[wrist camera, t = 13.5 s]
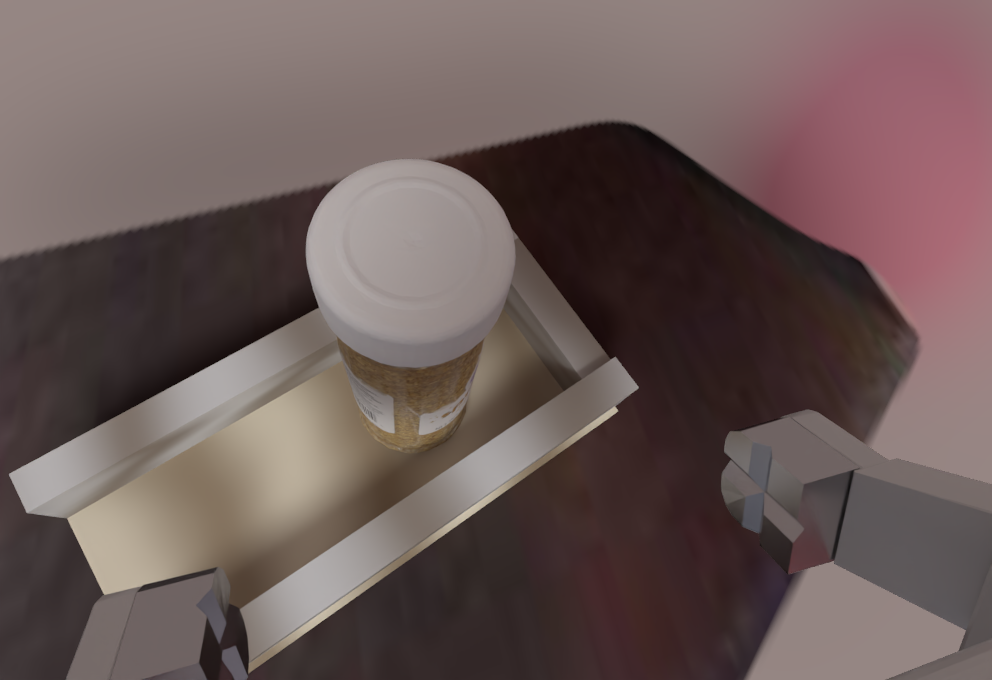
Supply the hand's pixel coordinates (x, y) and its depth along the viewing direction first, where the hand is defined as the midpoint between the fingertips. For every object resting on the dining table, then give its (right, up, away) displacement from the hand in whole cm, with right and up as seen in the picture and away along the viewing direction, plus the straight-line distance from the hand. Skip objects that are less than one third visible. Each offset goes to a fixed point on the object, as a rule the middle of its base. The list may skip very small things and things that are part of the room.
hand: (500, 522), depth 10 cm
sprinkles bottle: (-4, 0, +16) cm, 16 cm away
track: (-6, -2, +16) cm, 17 cm away
